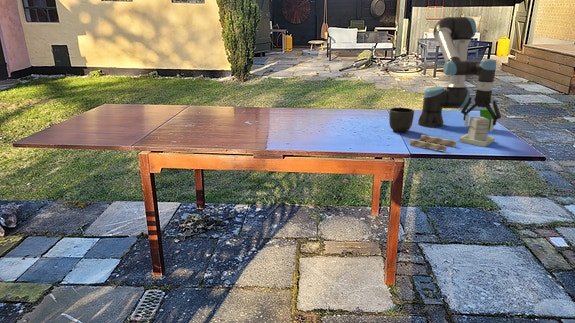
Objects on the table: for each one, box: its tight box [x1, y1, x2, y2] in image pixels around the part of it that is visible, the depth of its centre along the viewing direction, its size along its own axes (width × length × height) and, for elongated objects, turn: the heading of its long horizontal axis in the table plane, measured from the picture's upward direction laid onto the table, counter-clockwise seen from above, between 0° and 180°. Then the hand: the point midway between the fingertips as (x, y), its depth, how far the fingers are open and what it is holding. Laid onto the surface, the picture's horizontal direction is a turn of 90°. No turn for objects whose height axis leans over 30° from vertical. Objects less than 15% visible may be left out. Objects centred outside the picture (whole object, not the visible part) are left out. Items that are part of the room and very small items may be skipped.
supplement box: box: [467, 116, 490, 142], centre depth 230 cm, size 7×7×13 cm
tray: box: [458, 133, 496, 148], centre depth 232 cm, size 14×14×2 cm
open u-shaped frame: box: [409, 134, 457, 152], centre depth 224 cm, size 19×14×3 cm
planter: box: [388, 107, 415, 134], centre depth 252 cm, size 14×14×13 cm
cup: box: [479, 108, 496, 130], centre depth 258 cm, size 9×9×11 cm
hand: (478, 128), depth 230 cm, fingers open, 13 cm apart
